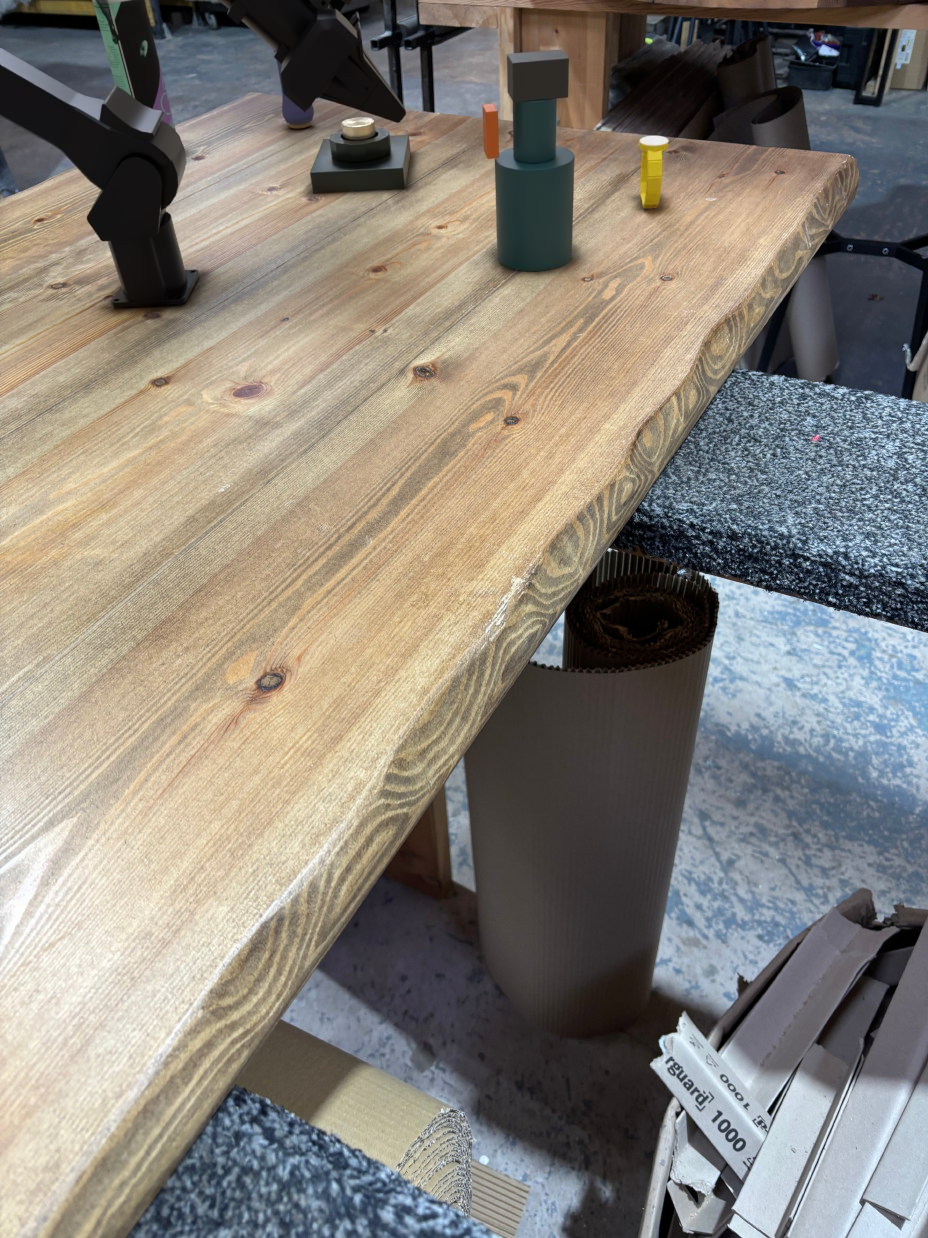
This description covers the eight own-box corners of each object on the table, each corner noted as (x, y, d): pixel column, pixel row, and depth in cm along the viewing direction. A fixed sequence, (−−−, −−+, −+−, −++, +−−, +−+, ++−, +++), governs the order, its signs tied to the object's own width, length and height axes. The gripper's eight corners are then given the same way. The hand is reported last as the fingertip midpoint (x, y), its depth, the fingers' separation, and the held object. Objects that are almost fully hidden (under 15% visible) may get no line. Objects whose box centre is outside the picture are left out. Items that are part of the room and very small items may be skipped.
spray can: (175, 163, 111) (125, -40, 98) (130, 165, 111) (74, -37, 98) (186, 149, 115) (140, -48, 102) (143, 151, 115) (90, -45, 102)
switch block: (405, 189, 100) (401, 149, 98) (313, 193, 101) (306, 154, 98) (410, 154, 109) (407, 116, 106) (326, 158, 109) (320, 121, 107)
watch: (631, 193, 96) (636, 130, 92) (659, 192, 95) (664, 129, 91) (637, 214, 91) (642, 149, 87) (666, 213, 91) (672, 148, 87)
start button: (374, 142, 101) (372, 125, 100) (341, 144, 101) (339, 127, 100) (377, 133, 104) (375, 115, 102) (345, 134, 104) (343, 117, 103)
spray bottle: (502, 274, 82) (497, 69, 72) (492, 245, 87) (486, 49, 76) (578, 267, 83) (585, 62, 72) (564, 238, 88) (568, 43, 77)
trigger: (487, 158, 78) (485, 111, 75) (483, 150, 80) (482, 103, 77) (499, 157, 78) (498, 110, 75) (495, 149, 80) (494, 102, 77)
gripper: (301, -132, 58) (483, 57, 66) (306, -151, 71) (456, 8, 79) (203, 25, 63) (384, 184, 71) (225, -21, 76) (374, 117, 84)
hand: (402, 116), depth 76 cm, fingers closed
